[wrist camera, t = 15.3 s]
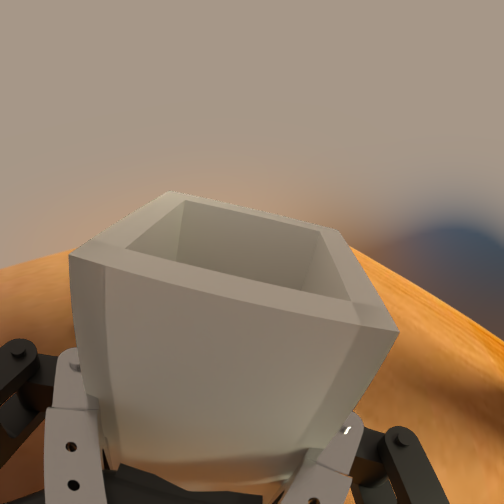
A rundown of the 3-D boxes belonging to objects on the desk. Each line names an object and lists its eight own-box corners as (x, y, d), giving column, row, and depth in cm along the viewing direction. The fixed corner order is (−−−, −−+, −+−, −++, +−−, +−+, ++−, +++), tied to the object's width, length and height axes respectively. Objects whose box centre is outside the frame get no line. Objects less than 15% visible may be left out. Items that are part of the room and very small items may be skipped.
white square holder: (256, 524, 9) (399, 331, 5) (115, 492, 9) (68, 254, 5) (262, 425, 14) (338, 230, 10) (152, 400, 14) (169, 190, 10)
